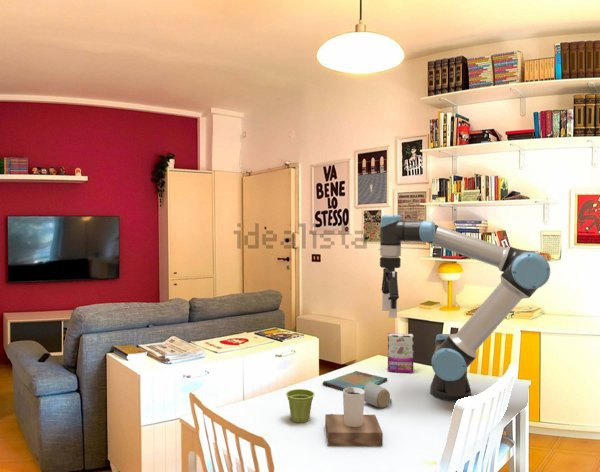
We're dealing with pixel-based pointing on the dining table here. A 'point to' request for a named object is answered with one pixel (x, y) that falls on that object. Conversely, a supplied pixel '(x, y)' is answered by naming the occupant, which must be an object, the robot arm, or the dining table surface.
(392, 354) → the candy bar box
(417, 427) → the dining table surface
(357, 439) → the walnut riser block
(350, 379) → the dish towel
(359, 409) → the beige hollow cylinder
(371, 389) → the ceramic mug
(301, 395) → the plant pot
